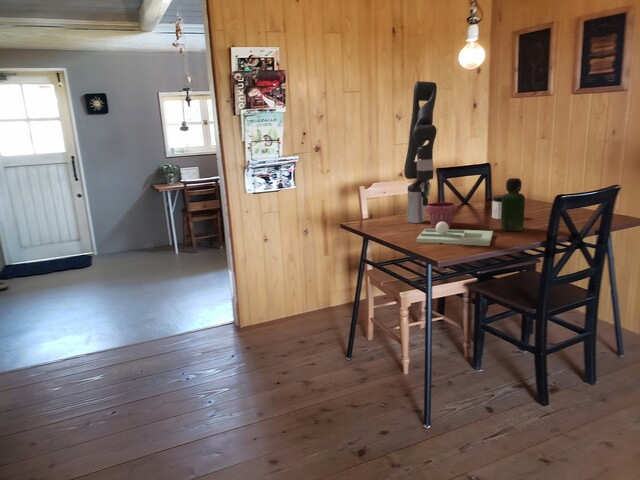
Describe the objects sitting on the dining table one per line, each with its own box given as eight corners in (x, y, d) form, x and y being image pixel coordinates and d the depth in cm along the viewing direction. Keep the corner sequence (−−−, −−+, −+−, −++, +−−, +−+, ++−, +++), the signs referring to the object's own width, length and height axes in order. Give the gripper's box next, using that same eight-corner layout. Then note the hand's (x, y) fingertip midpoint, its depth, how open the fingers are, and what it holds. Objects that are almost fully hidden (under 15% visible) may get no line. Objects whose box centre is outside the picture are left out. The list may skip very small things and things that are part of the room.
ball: (434, 235, 222) (434, 222, 221) (436, 232, 228) (436, 220, 226) (447, 235, 220) (447, 223, 219) (449, 232, 225) (449, 220, 224)
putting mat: (416, 242, 220) (416, 236, 219) (425, 232, 237) (425, 226, 237) (489, 245, 207) (489, 239, 206) (492, 235, 224) (492, 228, 224)
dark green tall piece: (500, 231, 230) (502, 180, 224) (500, 227, 239) (502, 177, 233) (523, 232, 226) (526, 180, 220) (523, 227, 235) (525, 177, 229)
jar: (488, 217, 263) (489, 196, 260) (500, 215, 266) (500, 194, 263) (500, 220, 255) (501, 198, 252) (512, 218, 258) (513, 196, 255)
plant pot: (421, 228, 247) (421, 204, 244) (443, 224, 253) (443, 200, 250) (438, 233, 235) (438, 207, 232) (461, 229, 240) (461, 204, 237)
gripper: (420, 167, 227) (420, 203, 231) (413, 170, 215) (414, 208, 219) (435, 167, 224) (435, 203, 228) (430, 170, 212) (430, 208, 216)
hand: (425, 205), depth 224 cm, fingers closed
